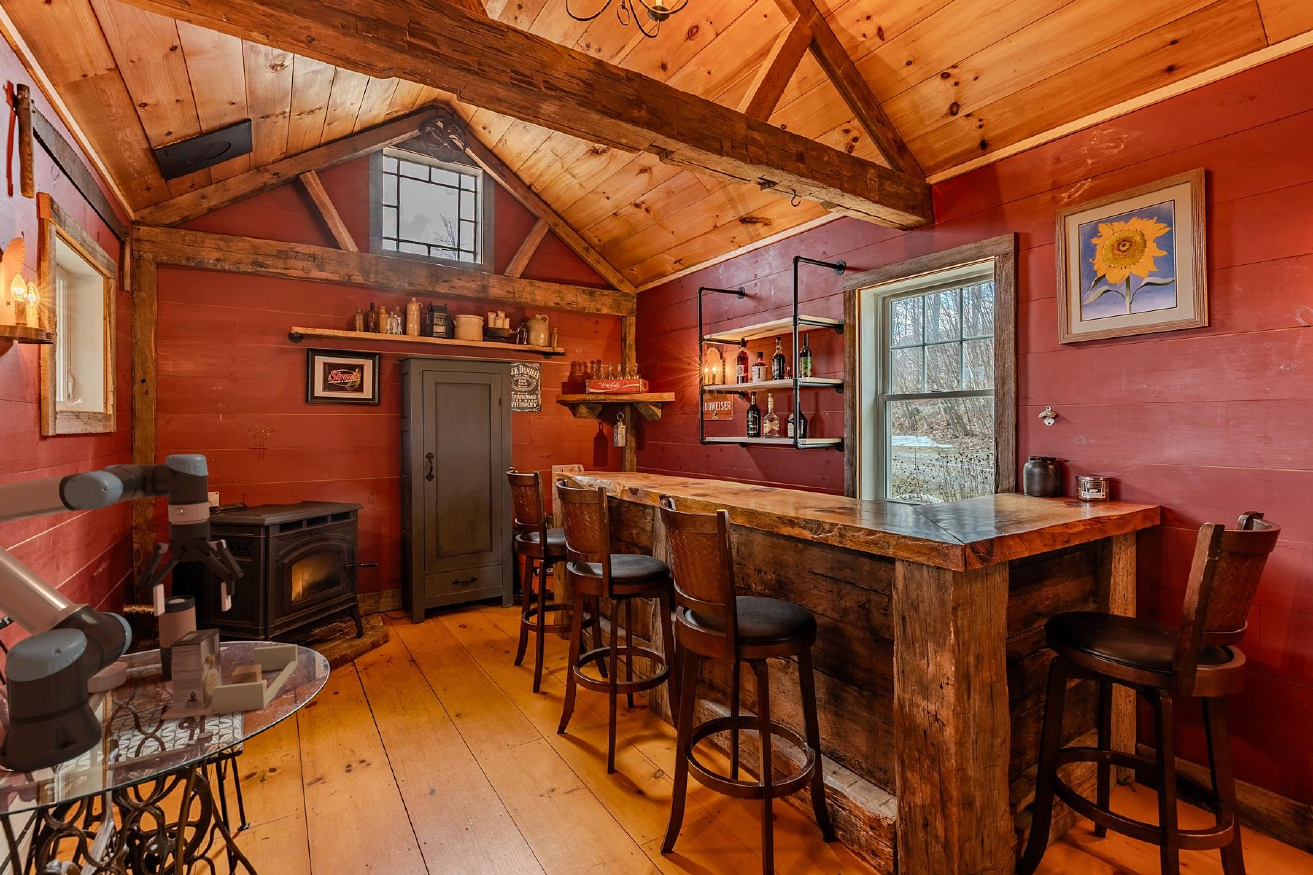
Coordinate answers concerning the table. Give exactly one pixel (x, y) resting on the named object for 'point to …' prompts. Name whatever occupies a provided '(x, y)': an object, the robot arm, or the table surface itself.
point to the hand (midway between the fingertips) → (193, 611)
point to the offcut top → (247, 674)
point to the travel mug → (174, 627)
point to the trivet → (171, 714)
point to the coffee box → (195, 670)
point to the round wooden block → (108, 678)
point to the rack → (254, 693)
